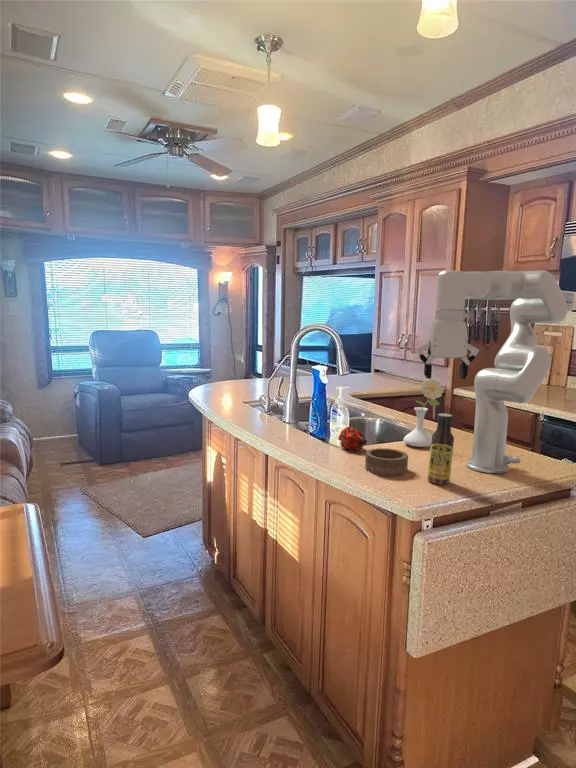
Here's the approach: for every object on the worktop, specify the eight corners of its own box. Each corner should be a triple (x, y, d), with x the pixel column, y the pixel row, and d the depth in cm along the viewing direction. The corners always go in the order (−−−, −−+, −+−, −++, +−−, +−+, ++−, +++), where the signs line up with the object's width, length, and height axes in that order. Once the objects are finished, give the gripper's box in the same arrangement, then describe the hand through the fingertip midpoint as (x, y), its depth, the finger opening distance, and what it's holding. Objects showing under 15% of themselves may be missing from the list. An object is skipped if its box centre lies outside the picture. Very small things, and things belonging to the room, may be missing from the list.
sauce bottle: (426, 483, 143) (430, 415, 140) (428, 477, 148) (432, 411, 146) (450, 487, 140) (455, 417, 137) (451, 480, 146) (456, 413, 143)
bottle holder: (400, 463, 161) (401, 448, 160) (411, 476, 149) (412, 460, 148) (362, 463, 161) (363, 448, 160) (369, 475, 149) (370, 459, 148)
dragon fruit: (342, 448, 184) (361, 461, 174) (328, 437, 180) (346, 450, 169) (356, 429, 184) (376, 441, 174) (342, 418, 180) (361, 430, 170)
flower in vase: (401, 447, 180) (405, 379, 177) (404, 440, 191) (407, 375, 187) (439, 451, 176) (444, 381, 173) (439, 443, 187) (444, 377, 184)
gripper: (475, 317, 141) (470, 377, 144) (414, 316, 141) (411, 376, 144) (486, 317, 134) (481, 380, 136) (421, 316, 134) (418, 379, 136)
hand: (445, 378), depth 140 cm, fingers open, 9 cm apart
